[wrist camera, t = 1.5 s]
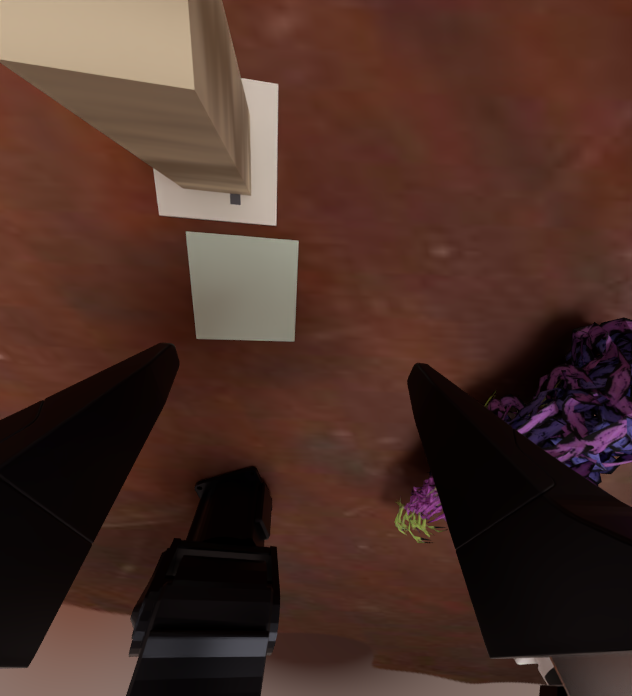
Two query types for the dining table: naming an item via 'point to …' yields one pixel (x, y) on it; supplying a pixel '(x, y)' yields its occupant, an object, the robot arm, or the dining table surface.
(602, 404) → the decorative ornament
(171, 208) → the tile
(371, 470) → the dining table surface
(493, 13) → the dining table surface
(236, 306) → the felt pad
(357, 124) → the dining table surface
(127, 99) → the pillar
